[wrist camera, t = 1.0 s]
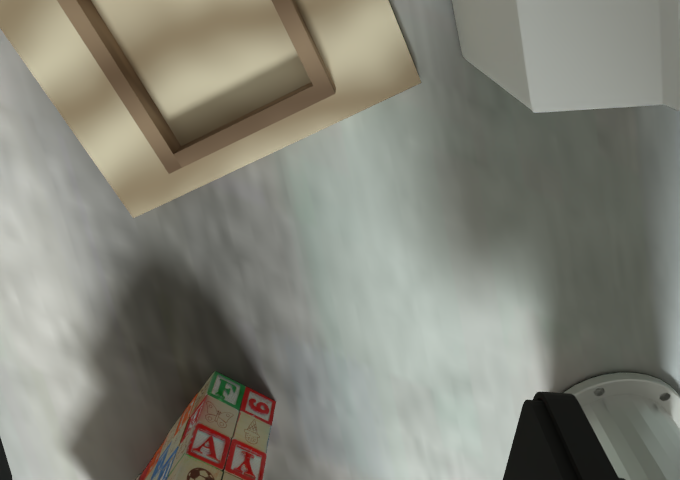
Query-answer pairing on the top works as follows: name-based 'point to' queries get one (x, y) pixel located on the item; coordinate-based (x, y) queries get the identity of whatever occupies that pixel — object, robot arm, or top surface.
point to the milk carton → (575, 50)
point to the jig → (203, 79)
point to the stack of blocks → (216, 436)
